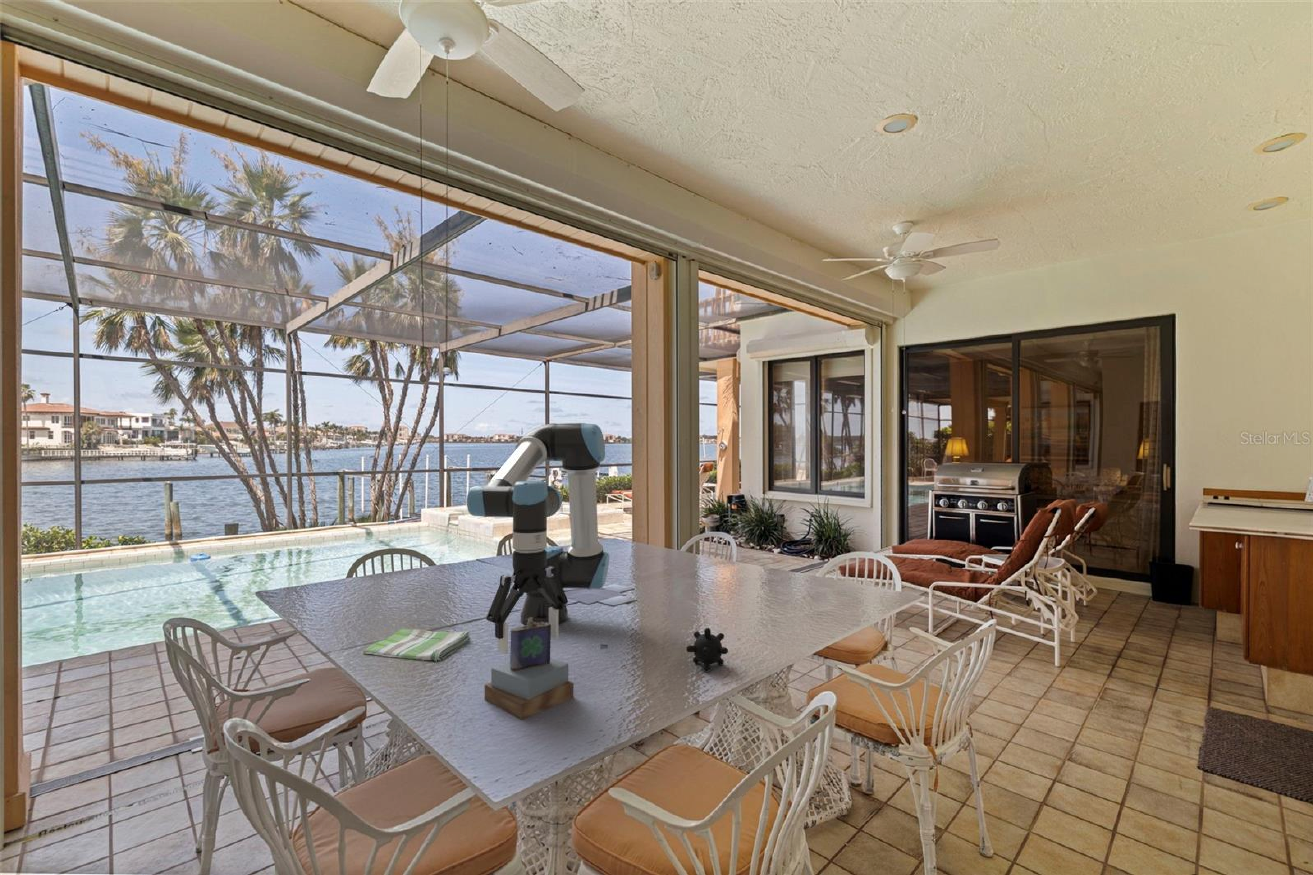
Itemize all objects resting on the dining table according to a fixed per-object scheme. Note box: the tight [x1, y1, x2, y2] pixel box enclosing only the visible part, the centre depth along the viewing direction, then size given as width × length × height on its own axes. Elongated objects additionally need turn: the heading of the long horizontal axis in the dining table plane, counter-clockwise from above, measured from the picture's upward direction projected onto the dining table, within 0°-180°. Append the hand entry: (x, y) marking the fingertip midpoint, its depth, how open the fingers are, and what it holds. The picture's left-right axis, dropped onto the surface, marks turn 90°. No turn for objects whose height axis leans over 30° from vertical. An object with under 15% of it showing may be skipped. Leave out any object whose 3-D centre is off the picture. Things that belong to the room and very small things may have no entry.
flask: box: [509, 617, 552, 671], centre depth 127 cm, size 9×3×11 cm, turn 120°
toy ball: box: [686, 627, 729, 672], centre depth 146 cm, size 11×11×12 cm
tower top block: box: [490, 657, 569, 700], centre depth 127 cm, size 12×12×4 cm
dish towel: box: [363, 628, 471, 662], centre depth 159 cm, size 17×23×4 cm
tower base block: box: [484, 680, 574, 720], centre depth 127 cm, size 14×14×4 cm
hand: (529, 644), depth 127 cm, fingers open, 13 cm apart
